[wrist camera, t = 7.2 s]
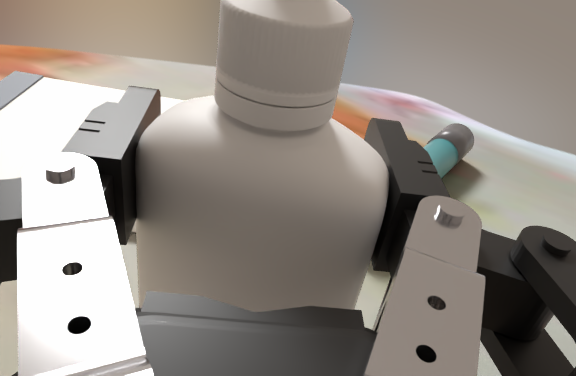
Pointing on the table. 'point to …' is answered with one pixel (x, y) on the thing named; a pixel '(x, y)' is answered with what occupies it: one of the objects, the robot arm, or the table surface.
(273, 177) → the white tapered bottle shape
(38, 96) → the notepad
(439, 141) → the marker
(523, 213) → the table surface
